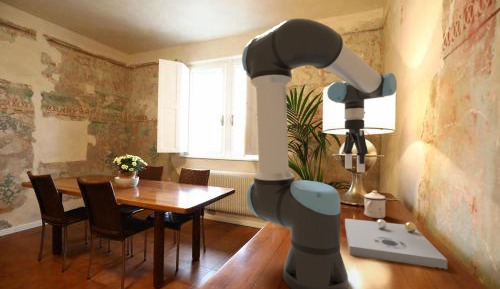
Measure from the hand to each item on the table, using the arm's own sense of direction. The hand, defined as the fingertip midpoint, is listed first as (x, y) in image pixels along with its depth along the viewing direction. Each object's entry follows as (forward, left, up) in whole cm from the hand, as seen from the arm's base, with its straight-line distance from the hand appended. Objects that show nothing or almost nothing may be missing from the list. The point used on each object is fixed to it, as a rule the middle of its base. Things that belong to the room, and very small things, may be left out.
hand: (354, 170), depth 97 cm
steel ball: (-10, -8, -18) cm, 22 cm away
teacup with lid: (+15, -9, -23) cm, 29 cm away
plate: (-16, -8, -23) cm, 29 cm away
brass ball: (-10, -17, -18) cm, 27 cm away
